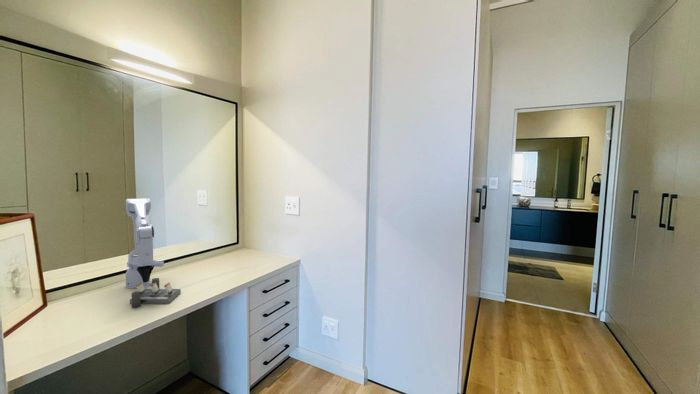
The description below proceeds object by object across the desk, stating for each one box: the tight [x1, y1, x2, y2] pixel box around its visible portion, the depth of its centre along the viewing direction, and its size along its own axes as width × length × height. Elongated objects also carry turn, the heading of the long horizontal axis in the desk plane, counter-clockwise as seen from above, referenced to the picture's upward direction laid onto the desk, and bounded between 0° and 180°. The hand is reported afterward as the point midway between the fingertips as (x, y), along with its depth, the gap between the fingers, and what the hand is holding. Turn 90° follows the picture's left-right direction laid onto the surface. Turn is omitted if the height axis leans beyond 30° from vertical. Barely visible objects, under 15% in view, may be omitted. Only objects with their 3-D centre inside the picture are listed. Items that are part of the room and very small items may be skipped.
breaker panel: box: [129, 288, 182, 305], centre depth 132 cm, size 16×11×3 cm
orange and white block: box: [163, 282, 174, 294], centre depth 132 cm, size 1×3×4 cm, turn 5°
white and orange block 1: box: [136, 282, 146, 294], centre depth 131 cm, size 1×3×4 cm, turn 5°
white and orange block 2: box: [149, 282, 160, 294], centre depth 132 cm, size 1×3×4 cm, turn 5°
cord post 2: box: [151, 277, 160, 289], centre depth 139 cm, size 3×3×6 cm
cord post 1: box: [131, 290, 142, 309], centre depth 124 cm, size 3×3×6 cm
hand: (146, 281), depth 131 cm, fingers closed
